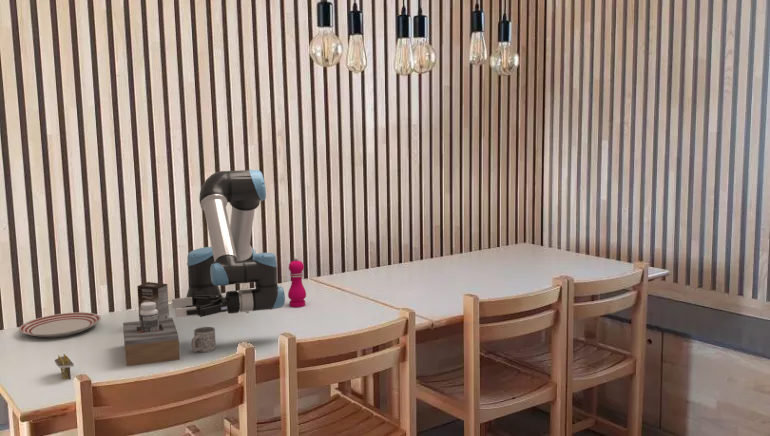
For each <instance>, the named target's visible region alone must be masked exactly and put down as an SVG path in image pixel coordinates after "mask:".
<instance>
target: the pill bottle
mask: <svg viewBox="0 0 770 436" xmlns="http://www.w3.org/2000/svg"><path fill="white" fill-rule="evenodd" d="M155 307H156V303H155V302H145V303H142V304H141V308H142V310H141V311H140V324H141V333H146V332H155V331H159V320H158V310H157V309H155Z"/></svg>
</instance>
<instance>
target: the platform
mask: <svg viewBox="0 0 770 436" xmlns="http://www.w3.org/2000/svg"><path fill="white" fill-rule="evenodd" d="M54 364H55V365H56V366H57V367H58V368H59V369H60V372H61V375H62V376H61V377H62V380H65V379H69V380H72V379H71V368H72V367H74V366H75V364H74V362H72V360H71V359H70V358H69V357H68V356H67V355H66V354H65V353H63V356H61V355H59V354H57V358H56V359H54Z"/></svg>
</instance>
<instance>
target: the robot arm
mask: <svg viewBox="0 0 770 436" xmlns="http://www.w3.org/2000/svg"><path fill="white" fill-rule="evenodd" d="M266 188H267V187H266V183H265V178H264V175H263V172H262V171H260V170H259V169H258V170H257V169H245V170H243V169H242V170H241V169H239V170H221V171H216V172H214V173H213V174H211V175H209V176H208V178H206V180H205V181H204V182H203V184H202V186H201V188H200V192H199V195H198V196H199V205H200V208H201V210H203V211H204V216H205V220H206V225H207V230H208V235H209V240H210V245H211V246H204V247H200V248H196V249H193V250H191V251H189V253H188V254H187V260H186V261H187V263H186V266H187V278H188V279H187V280H188V290H187V294H186V295H185V296H186V297H178V298H171V305H172V308H175V318H183V317H184V318H185V317H194V316H198V317H201V318H203V317H206V316H207V317H208V316H211V315H215V314H220V313H224V312H225V313H226V312H227V314H238V313H239V312H240V313H246V314H249V313H250V312H255V311H256V312H257V311H266V310H267V311H268V310H275V309H281V308H283V307H284V306H285V303H286V296H285V289H284V287H283V286H279V285H278V272H277V271H278V265H277V258H276V257H277V256H276V254H274V253H272V252H259V253H256V250H255V249H254V247H252V245H251V238H252V231H253V225H254V224H253V222H254V218H255V211H256V209H257V208H258V207H259V206H260V203H261V202H263V201H265V200H267V199H266V198H267V190H266ZM228 203H229V205H230V206H231V214H230V220H229V216H228V212H227V208H226V207H227V205H228ZM229 221H230V222H229ZM249 283H254V288H248V289H240V290H238V291H237V290H231V291H226V292H225V297H224V296H223V295H222V293H221V290H220V287H219V286H221V287H222V286H226V287H227V286H231V285H238V284H249Z"/></svg>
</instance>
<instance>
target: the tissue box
mask: <svg viewBox="0 0 770 436" xmlns="http://www.w3.org/2000/svg"><path fill="white" fill-rule="evenodd" d="M158 320H159V331H155V332H146V333H141V324H140V321H139V320H137V321H128V322H126V321H125V322H122V325H123V339H124V341H123V342H124V345H123V346H124V352H125V361H126V362H125V363H126V366H136V365H145V364H152V363H160V362H161V363H162V362H169V361H177V360H178V361H179V360H180V343H179V342H180V341H179V338H180V337H179V333H178V331H177V328H176V324H175V322H174V319H173V317H169V318H163V319H158Z"/></svg>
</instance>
